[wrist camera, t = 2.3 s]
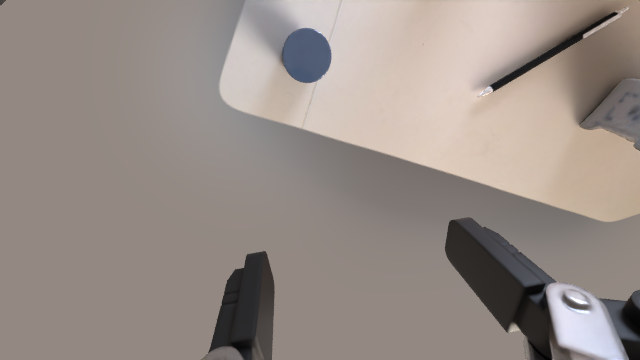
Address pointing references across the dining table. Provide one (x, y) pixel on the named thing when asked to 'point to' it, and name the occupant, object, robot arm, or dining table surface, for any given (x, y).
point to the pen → (554, 51)
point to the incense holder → (619, 112)
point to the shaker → (306, 55)
